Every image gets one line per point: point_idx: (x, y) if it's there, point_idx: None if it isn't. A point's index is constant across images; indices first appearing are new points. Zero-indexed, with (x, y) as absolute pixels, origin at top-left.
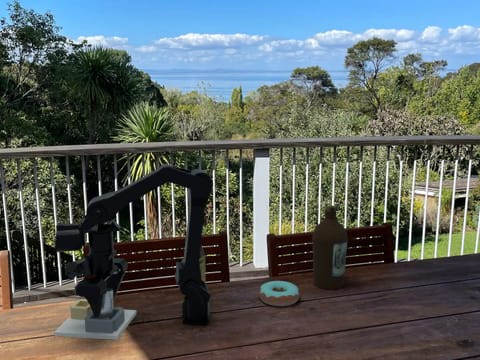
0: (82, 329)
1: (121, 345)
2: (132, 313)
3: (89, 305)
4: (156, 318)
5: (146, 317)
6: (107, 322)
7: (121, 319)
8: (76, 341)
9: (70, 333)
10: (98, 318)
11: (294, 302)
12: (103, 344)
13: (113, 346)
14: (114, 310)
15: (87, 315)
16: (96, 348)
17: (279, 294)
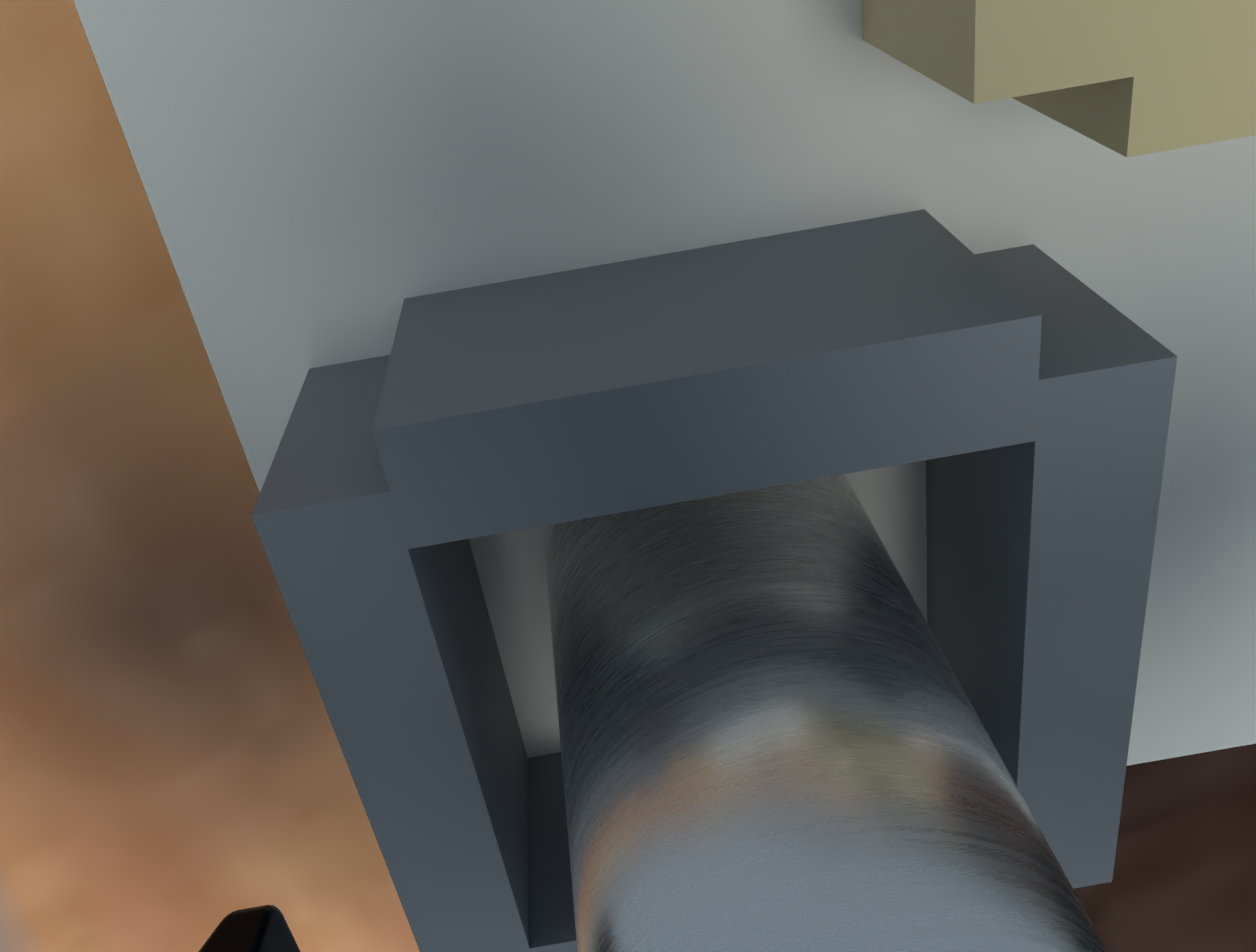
0: (376, 236)
1: (306, 936)
2: (1214, 730)
3: (1246, 39)
4: (1136, 948)
5: (1166, 843)
6: (414, 931)
7: None
8: (51, 285)
9: (97, 56)
10: (572, 649)
11: None
12: (212, 745)
13: (233, 875)
14: (1004, 760)
15: (554, 400)
16: (55, 722)
17: None
